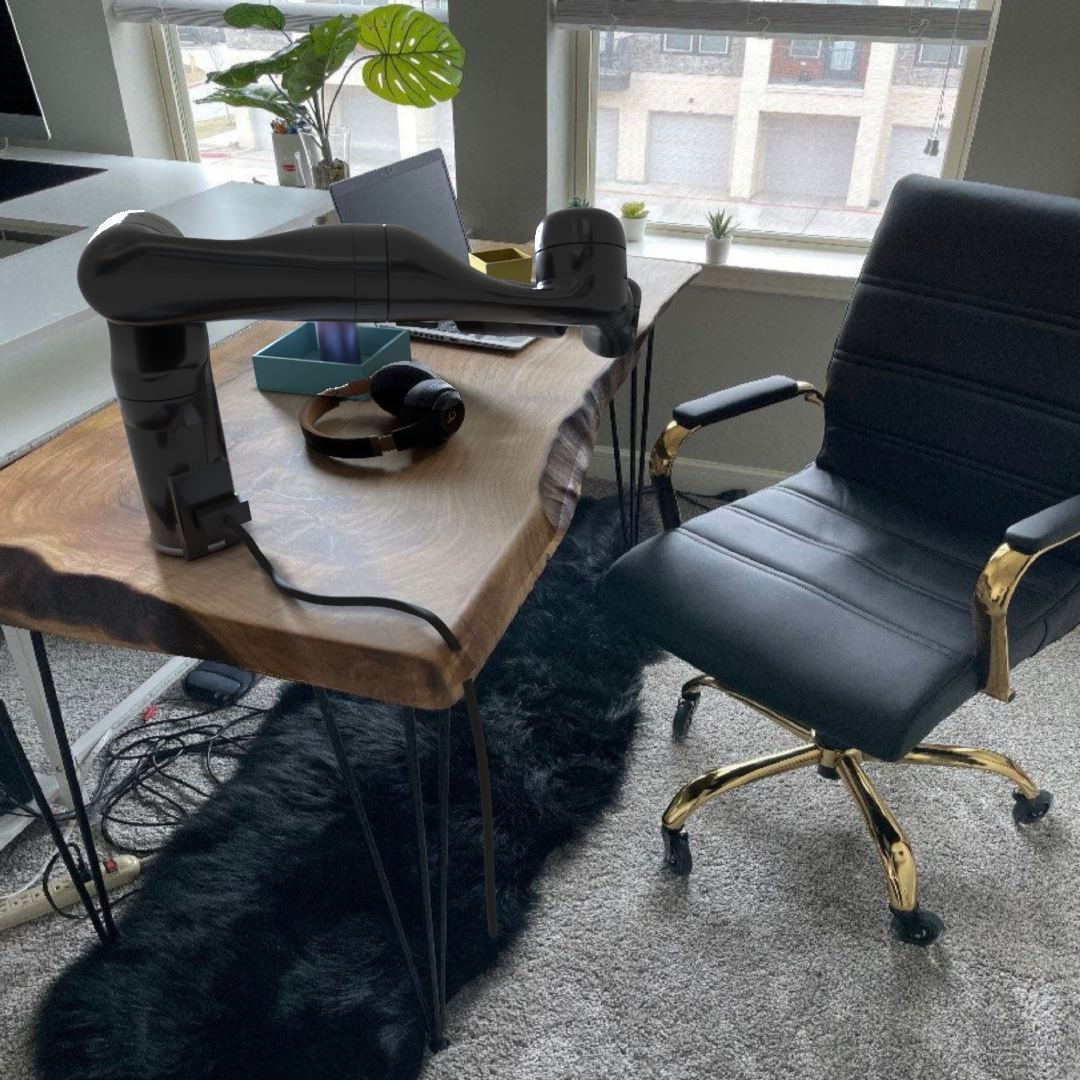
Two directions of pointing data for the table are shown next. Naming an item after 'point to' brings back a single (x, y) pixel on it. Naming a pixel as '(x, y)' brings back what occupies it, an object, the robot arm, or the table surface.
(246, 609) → the table surface
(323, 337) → the beverage can
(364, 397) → the box
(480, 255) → the flower pot
